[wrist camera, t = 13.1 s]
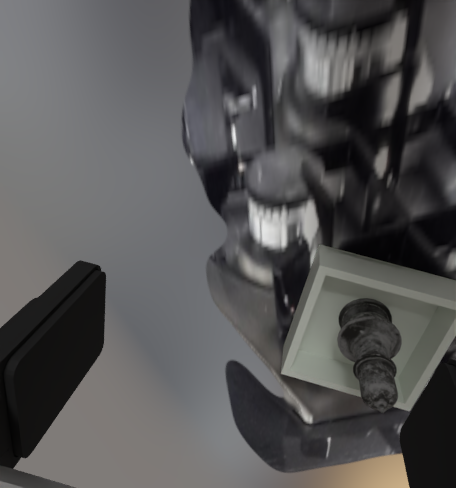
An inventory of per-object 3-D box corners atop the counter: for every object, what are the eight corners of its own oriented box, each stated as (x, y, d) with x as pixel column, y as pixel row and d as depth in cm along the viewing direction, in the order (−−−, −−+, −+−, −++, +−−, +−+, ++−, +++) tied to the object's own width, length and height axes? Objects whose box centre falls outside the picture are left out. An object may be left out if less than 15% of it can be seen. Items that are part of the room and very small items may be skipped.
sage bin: (319, 244, 39) (319, 265, 35) (457, 280, 38) (473, 306, 34) (283, 346, 46) (280, 373, 42) (401, 380, 45) (409, 411, 41)
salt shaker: (391, 344, 42) (418, 443, 31) (334, 340, 43) (341, 434, 32) (398, 297, 39) (430, 388, 29) (337, 294, 40) (345, 380, 30)
